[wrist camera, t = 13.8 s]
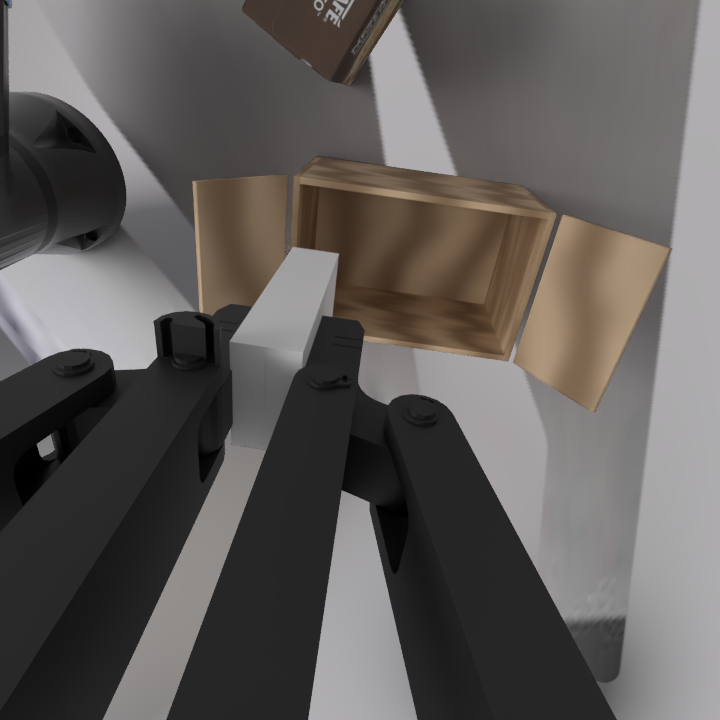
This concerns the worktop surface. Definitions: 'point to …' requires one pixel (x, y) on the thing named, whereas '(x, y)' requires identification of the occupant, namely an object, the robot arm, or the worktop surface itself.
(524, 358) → the flap
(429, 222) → the carton
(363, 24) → the coffee box
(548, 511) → the worktop surface
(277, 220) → the flap
